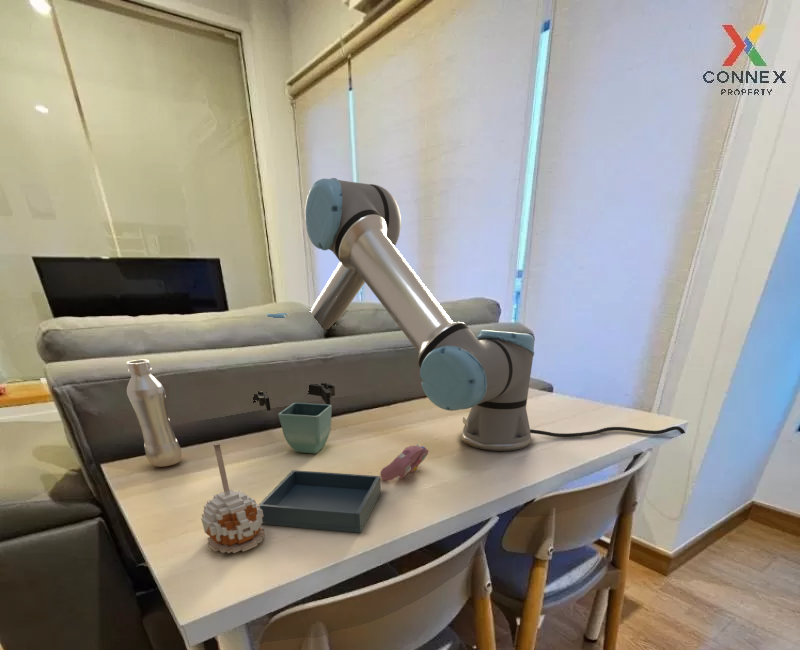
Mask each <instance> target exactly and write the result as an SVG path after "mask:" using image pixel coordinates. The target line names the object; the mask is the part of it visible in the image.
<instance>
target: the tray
mask: <svg viewBox="0 0 800 650" xmlns="http://www.w3.org/2000/svg"><path fill="white" fill-rule="evenodd" d="M381 491H382V490H381V476H380V475H368V474H356V473H355V474H354V473H339V472H337V473H336V472H325V471H311V470H298V469H297V470H296V469H292V470H290V472H289V473H288V474H287V475H286V476H285V477H284V478H283V479H282V480H281V481H280V482H279V483H278V484H277V485H276V486H275V487H274V488H273V489H272V490H271V491H270V492H269V493H268V494H267V495H266V496H265V497H264V498H263V499H262V500H261V501H260V502H259V503H258V505H260V509H261V510H262V511H263V516H264V517H262V521H263V523H261V525H268V526H269V525H270V526H278V527H289V528H301V529H313V530H323V531H334V532H346V533H355V534H361V533H362V531H363V530H364V527H365V525H366V523H367V521H368V519H369V517H370V515H371V513H372V511H373V510H374V507H375V505H376V503H377V501H378V499H379V497H380V495H381V493H382V492H381Z"/></svg>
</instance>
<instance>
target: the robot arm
mask: <svg viewBox="0 0 800 650" xmlns="http://www.w3.org/2000/svg"><path fill="white" fill-rule="evenodd" d="M304 220H305V221H304V223H305V228H306V233H307V236H308V239H309V241H310V242H311V244H312V245H313V247H316V249H319V250H321V251H328V250H329V251H331V252H332V253H333V254H334V255H335V257H336V258H337V260H338V261H339V262H338V264H337V266H336V267H335V269H334V270H333V272H332V274H331V276H330V277H329V278H328V281H327V282H326V284H325V285H324V287H323V288H322V290H321V292H320V294H319V295H318V297H317V298H316V300H315V302H314V303H313V305H312V307H311V308H310V310H311V311H310V310H309V312H311V313H312V315H313V316H314V318H315V319H316V320H317V321H318V323H319V324H320V325H321V327H322V328H323V329H325V330H326V329H329V328H330V327H331V326H332V325H333V324H334V323H335V322H336V321H337V320H338V321H339V320H340V319H341V317H342V316H343V315H344V314H345V312H346V310H347V309H348V307H349V306H350V305H351V303H352V301H354V299H355V297H356V296H357V295H358V293H359V292H360V291H361V289H362V287H363V286H364V285H365V284H366V285H367V286H368V288H369V289H370V291H371V292H372V293H373V294H374V295H375V297H376V298H377V300H378V301H379V302H380V304H381V305H382V307H384V309H385V310H386V312H387V313H388V315H390V317H391V318H392V319H393V321H394V322H395V323H396V325H397V326H398V327H399V329H400V330H401V332H402V333H403V334H404V335H405V337H406V338H407V339H408V340H409V342H410V343H411V345H412V346H413V348H414V349H415V350H416V351H417V352H418V358H417V365H418V367H419V369H420V370H419V378H420V379H422V380H421V383H420V384H421V388H422V390H423V392H424V395H425V396H426V397H427V399H428V400H429V401H430V402H431V403H432V404H433V405H435V406H436V407H438V408H439V409H441V410H445V411H451V412H455V411H460V410H461V411H462V410H469V409H470V410H469V413H468V416H467V418H466V417H464V416H463V417H462V423H463V425H464V426H463V428H462V435H461V436H462V437H461V440H462V441H463V442H464V443H465V444H466V445H468V446H469V447H472V448H475V449H479V450H484V451H493V452H509V451H517V450H522V449H523V448H526V447H528V446H530V443H531V436H532V435H531V434H536V435H543V436H547V437H555V438H577V437H586V436H593V435H594V436H595V435H598V434H602V433H605V432H611V431H612V432H613V431H621V432H622V431H623V432H632V433H638V434H645V435H662V434H666V433H668V432H672V431H678V432H679V433H680V434H686V431H685V430H684V429H683V427H681V426H678V425H677V426H676V425H673V426H669V427H667V428H663V429H658V430H653V429H652V430H650V429H648V430H647V429H641V428H634V427H626V426H608V427H603V428H599V429H596V430H592V431H583V432H582V431H581V432H568V433H563V432H562V433H560V432H551V431H545V430H539V429H532V428H531V427H530V421H529V416H528V411H527V404H528V396H529V390H530V382H531V374H532V367H533V360H534V356H535V338H534V337H533V335H532V334H530V333H521V332H511V331H501V330H489V329H480V330H479V331H478V333H477V337H476V335H475V333H473V332H472V330H471V329H470V328H469V327H468V325H467V324H466V323H465V322H463V321H453V320H452V318H451V317H450V316H449V315H448V313H447V312H446V311H445V309H444V308H443V307H442V305H441V304H440V303H439V301H437V298H435V296H433V294H432V293H431V291H430V290H429V289H428V288H427V286H426V285H425V283H423V282H422V280H421V279H420V277H419V276H418V275H417V274H416V272H415V271H414V269H412V267H411V266H410V265H409V263H408V262H407V261H406V259H405V258H404V257H403V255H402V254H401V253H400V251H399V250H398V248H397V247H396V245H397V243H398V240H399V237H400V234H401V229H402V215H401V211H400V207H399V205H398V203H397V201H396V198H395V197H394V196H393V195H392V193H391V192H390V191H389V190H388V189H386V188H384V187H383V186H380V185H378V184H373V183H362V182H355V181H347V180H341V179H338V178H336V177H331V178H321V179H318V180H317V181H315V182H314V183H313V184H312V186H311V187H310V189H309V192H308V193H307V196H306V200H305V205H304ZM284 314H285V315H287V314H288V313H287V312H285V313H277V314H266V315H267V316H268V317H273V318H285V317H286V316H285V315H284ZM339 318H340V319H339ZM308 392H309V393H308V394H307V395H311V396H316V397H317V396H318V397H321V400H323V402H324V403H325V405H331V399H332V397H334V396H336V387H335V384H332V383H329V382H325V383H321V385H318V384H310V385H309V391H308ZM253 400H254V401H253V403H252V404H255V403H257V402H258V403H259V406H260V407H264V406H265V408H266V411H271V410H272V409H271V402H270V400H269V397H268V395H267V392H266V391H258V394H254V397H253ZM255 400H257V402H256V401H255Z"/></svg>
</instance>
